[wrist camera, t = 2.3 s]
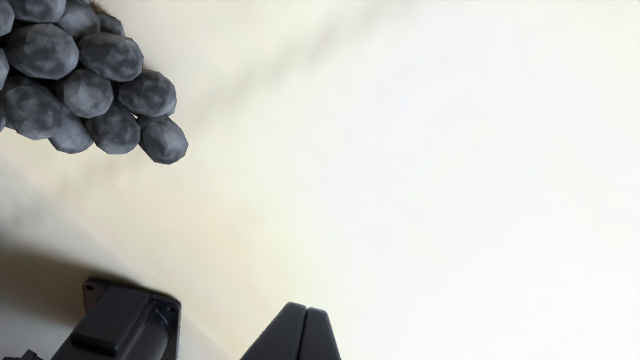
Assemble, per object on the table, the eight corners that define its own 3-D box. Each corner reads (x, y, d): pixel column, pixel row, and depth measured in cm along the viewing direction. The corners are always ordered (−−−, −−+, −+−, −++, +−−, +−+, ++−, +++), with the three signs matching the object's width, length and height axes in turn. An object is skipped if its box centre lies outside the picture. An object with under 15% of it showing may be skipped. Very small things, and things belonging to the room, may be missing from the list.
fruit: (139, 212, 13) (-463, -217, 9) (81, 277, 19) (-305, 32, 15) (257, 69, 19) (-80, -233, 15) (185, 152, 25) (-73, -50, 21)
